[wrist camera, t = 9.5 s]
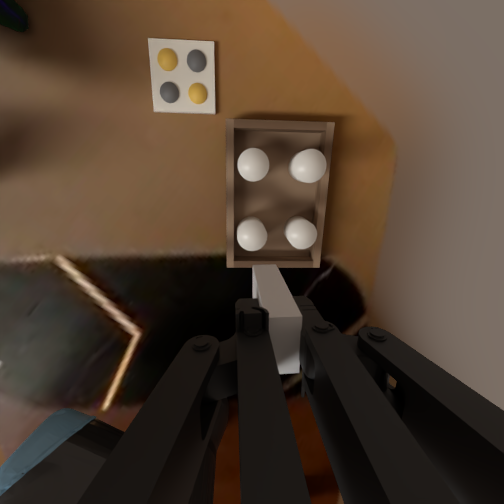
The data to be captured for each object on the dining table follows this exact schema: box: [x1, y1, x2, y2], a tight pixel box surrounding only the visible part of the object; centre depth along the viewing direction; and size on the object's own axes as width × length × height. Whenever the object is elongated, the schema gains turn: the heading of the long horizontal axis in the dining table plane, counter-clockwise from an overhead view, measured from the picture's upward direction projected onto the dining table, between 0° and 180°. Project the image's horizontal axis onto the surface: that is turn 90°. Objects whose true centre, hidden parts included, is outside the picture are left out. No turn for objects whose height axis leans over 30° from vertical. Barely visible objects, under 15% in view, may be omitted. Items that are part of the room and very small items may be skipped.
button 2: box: [288, 149, 327, 183], centre depth 34 cm, size 4×4×4 cm
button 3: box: [237, 217, 267, 251], centre depth 36 cm, size 4×4×4 cm
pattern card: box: [148, 38, 216, 114], centre depth 33 cm, size 8×8×1 cm
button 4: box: [237, 148, 269, 182], centre depth 34 cm, size 4×4×4 cm
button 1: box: [283, 216, 317, 249], centre depth 37 cm, size 4×4×4 cm
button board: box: [226, 119, 335, 268], centre depth 37 cm, size 20×14×3 cm
